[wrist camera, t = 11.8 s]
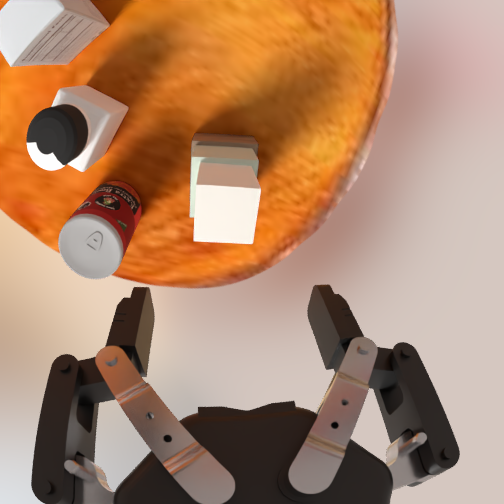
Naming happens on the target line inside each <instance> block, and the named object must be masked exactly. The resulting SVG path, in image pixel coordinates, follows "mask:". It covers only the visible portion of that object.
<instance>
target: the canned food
mask: <svg viewBox="0 0 504 504" xmlns="http://www.w3.org/2000/svg"><path fill="white" fill-rule="evenodd" d="M141 211H142V209H141V201H140V198H139V196H138V194H137V192H136V191H135V190H134V189H133V188H132V187H131V186H130V185H128V184H127V183H124V182H121V181H110V182H106V183H103V184H102V185H100V186H99V187H97V188H96V189H95V190H94V191H93V192H92V193H91V195H90V196H89V197H88V198H87V199H86V200H85V201H84V202H83V203H82V204H81V205H80V207H79V208H78V209H77V210H76V211H75V212H74V213H73V215H72V216H71V217H70V218H69V220H68V221H67V222H66V223H65V225H64V226H63V228H62V230H61V232H60V235H59V250H60V254H61V256H62V258H63V260H64V261H65V263H66V264H67V265H68V266H69V268H71V270H73V271H74V272H75V273H77V274H79V275H81V276H83V277H85V278H89V279H102V278H105V277H108V276H110V275H111V274H113V273H114V272H115V271H116V270H117V268H118V267H119V265H120V263H121V261H122V259H123V257H124V254H125V252H126V250H127V247H128V245H129V243H130V240H131V238H132V236H133V233H134V231H135V229H136V227H137V224H138V222H139V220H140V217H141Z"/></svg>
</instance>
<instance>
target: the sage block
mask: <svg viewBox="0 0 504 504" xmlns="http://www.w3.org/2000/svg"><path fill="white" fill-rule="evenodd" d="M200 162H206V163H222V164H235V165H247V166H252V169H253V171H254V173H255V176H256V178H257V172H258V164H259V160H258V158H257V156H256V154H255V152H254V151H253V149H252V148H241V147H225V146H204V145H195V148H194V151H193V154H192V161H191V188H190V217H195V197H196V183H197V177H198V171H199V166H200Z"/></svg>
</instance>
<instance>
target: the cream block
mask: <svg viewBox="0 0 504 504" xmlns="http://www.w3.org/2000/svg"><path fill="white" fill-rule="evenodd" d="M260 193H261V188H260V185H259V183H258V180H257V178H256V176H255V173H254V171H253V169H252V166H247V165H235V164H222V163H206V162H200V166H199V171H198V177H197V183H196V197H195V218H194V241H202V242H223V243H243V244H253V239H254V232H255V225H256V219H257V212H258V206H259V199H260Z"/></svg>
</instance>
